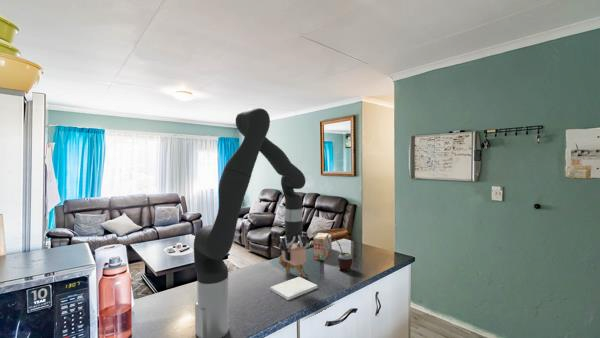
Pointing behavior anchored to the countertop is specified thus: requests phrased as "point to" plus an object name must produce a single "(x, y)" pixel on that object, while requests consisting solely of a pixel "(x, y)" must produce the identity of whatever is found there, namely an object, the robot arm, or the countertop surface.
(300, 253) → the terracotta brick
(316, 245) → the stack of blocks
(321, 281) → the countertop surface
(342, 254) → the mate gourd
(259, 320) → the countertop surface
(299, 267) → the lion figurine
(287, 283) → the baseplate
